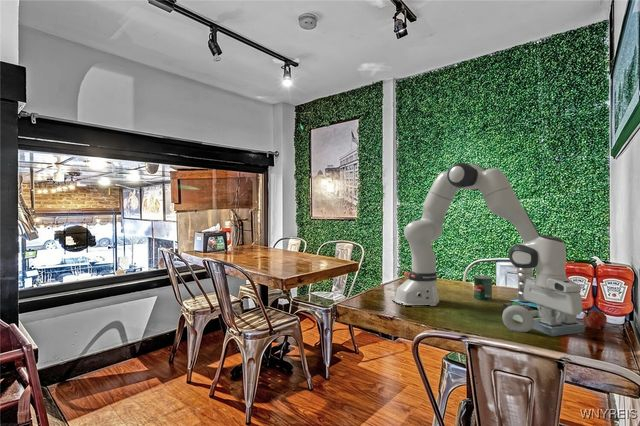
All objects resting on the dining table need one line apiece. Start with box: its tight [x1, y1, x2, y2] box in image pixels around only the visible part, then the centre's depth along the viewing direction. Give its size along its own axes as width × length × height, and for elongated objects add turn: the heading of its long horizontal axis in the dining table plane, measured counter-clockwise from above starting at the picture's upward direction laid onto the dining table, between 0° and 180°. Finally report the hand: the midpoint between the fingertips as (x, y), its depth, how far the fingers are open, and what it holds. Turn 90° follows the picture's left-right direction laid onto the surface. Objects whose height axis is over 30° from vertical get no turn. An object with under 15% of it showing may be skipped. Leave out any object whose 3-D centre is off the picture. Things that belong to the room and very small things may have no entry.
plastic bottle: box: [516, 268, 534, 303], centre depth 162 cm, size 6×7×20 cm
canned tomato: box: [473, 274, 493, 302], centre depth 166 cm, size 8×8×11 cm
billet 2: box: [561, 313, 577, 325], centre depth 124 cm, size 4×4×7 cm
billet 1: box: [541, 306, 560, 327], centre depth 122 cm, size 4×4×7 cm
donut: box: [501, 305, 535, 333], centre depth 123 cm, size 10×4×10 cm, turn 53°
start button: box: [512, 301, 522, 306], centre depth 143 cm, size 3×3×3 cm
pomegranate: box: [582, 309, 608, 330], centre depth 126 cm, size 7×7×10 cm
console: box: [502, 301, 531, 311], centre depth 143 cm, size 7×7×4 cm
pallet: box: [532, 321, 586, 337], centre depth 123 cm, size 15×8×4 cm, turn 105°
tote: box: [512, 309, 541, 323], centre depth 133 cm, size 13×9×3 cm
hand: (550, 319), depth 122 cm, fingers closed on billet 1, 4 cm apart
